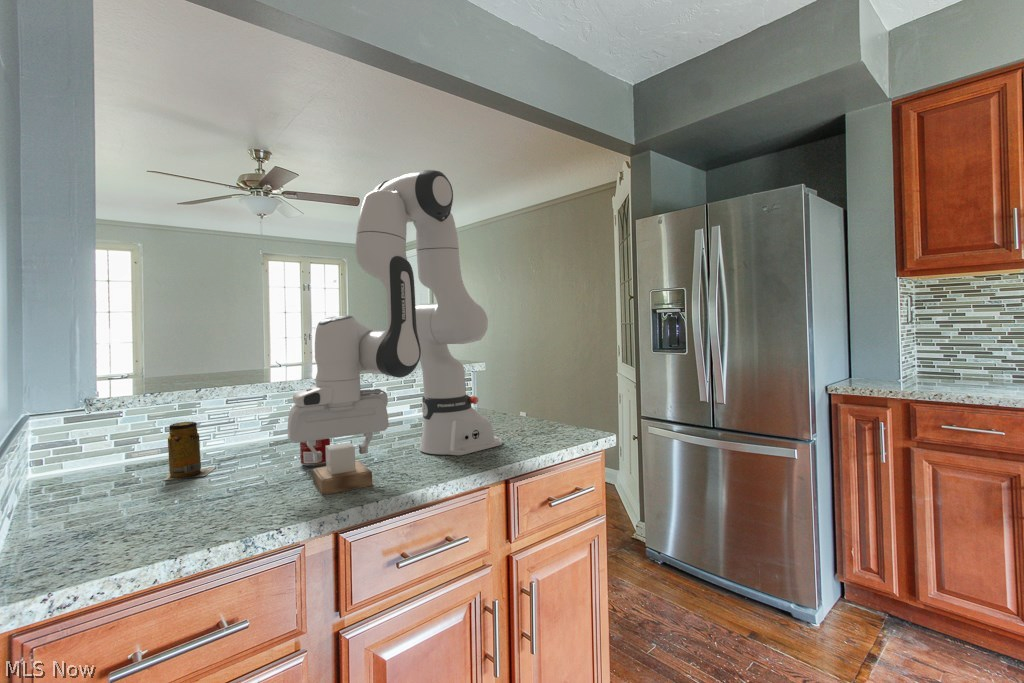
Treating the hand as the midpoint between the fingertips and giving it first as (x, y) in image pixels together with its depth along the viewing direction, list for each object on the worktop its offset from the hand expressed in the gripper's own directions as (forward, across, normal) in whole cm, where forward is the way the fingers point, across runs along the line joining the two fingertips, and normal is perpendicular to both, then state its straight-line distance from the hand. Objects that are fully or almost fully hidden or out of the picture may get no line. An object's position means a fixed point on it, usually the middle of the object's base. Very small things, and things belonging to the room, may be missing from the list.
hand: (341, 456), depth 102 cm
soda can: (+6, +2, -19) cm, 20 cm away
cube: (+3, 0, 0) cm, 3 cm away
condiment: (+6, +28, -28) cm, 40 cm away
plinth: (+6, 0, 0) cm, 6 cm away
